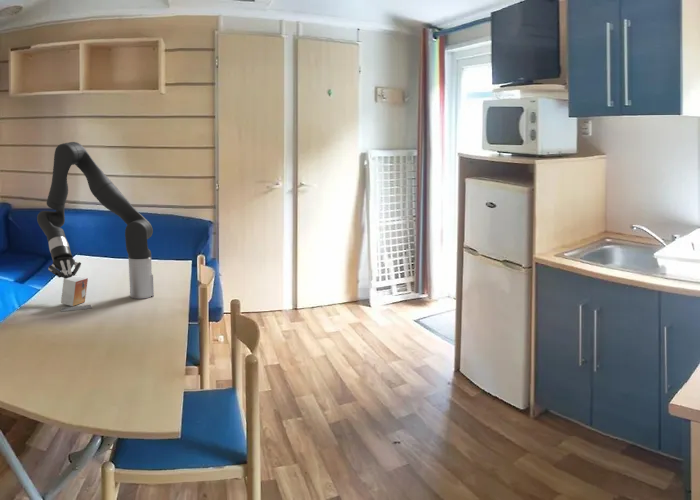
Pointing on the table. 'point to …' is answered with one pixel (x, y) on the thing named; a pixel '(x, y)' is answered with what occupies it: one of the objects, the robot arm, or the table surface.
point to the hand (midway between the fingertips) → (70, 284)
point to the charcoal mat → (75, 308)
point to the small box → (74, 290)
